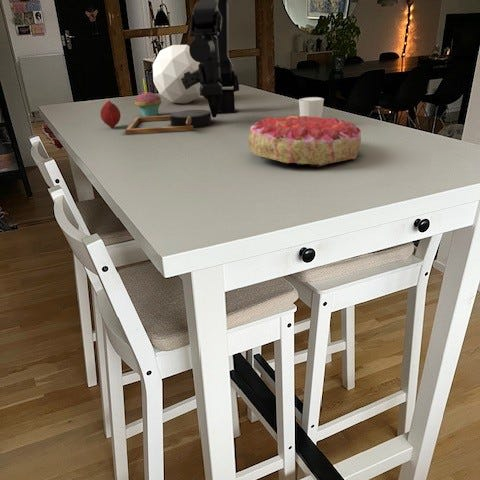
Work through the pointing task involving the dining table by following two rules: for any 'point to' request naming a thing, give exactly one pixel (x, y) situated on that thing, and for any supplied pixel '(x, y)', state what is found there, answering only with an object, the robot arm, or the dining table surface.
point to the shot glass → (311, 106)
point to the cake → (305, 140)
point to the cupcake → (148, 102)
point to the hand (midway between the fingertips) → (214, 117)
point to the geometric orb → (175, 74)
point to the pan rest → (131, 127)
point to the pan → (191, 118)
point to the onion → (110, 114)
